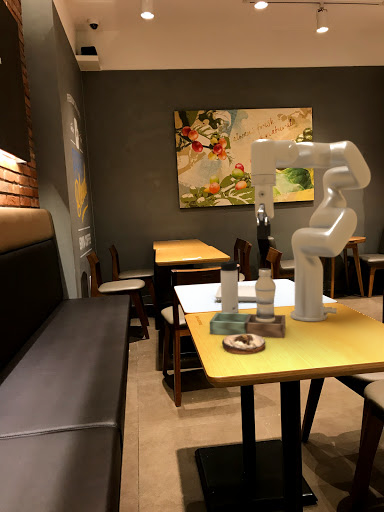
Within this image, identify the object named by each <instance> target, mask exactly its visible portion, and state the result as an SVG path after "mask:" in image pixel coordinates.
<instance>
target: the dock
mask: <svg viewBox="0 0 384 512" xmlns="http://www.w3.org/2000/svg"><path fill="white" fill-rule="evenodd" d="M274 315H275V320H276V324H269V323H255V318H256V313H241V312H240V313H239V312H238V313H222V312H215V314H214V315H213V317H212V318H211V319H210V321H209V335H221V336H223V335H225V336H229V335H237V334H255V335H257V336H261V337H262V338H279V339H285V331H286V314H274Z"/></svg>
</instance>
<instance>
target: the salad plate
mask: <svg viewBox="0 0 384 512" xmlns="http://www.w3.org/2000/svg"><path fill="white" fill-rule="evenodd" d="M214 297H215V299H216V300H218V301H220V302H221V285H219V286H218V288H217V291H216V293H215V295H214ZM240 302H245V303H246V302H251V303H252V302H253V303H255V302H256V303H257V301H256V292H255V285H238V303H240Z"/></svg>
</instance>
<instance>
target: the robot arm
mask: <svg viewBox="0 0 384 512" xmlns="http://www.w3.org/2000/svg"><path fill="white" fill-rule="evenodd" d="M282 168H283V169H287V168H289V169H291V168H292V169H328V170H326V171H325V172H324V174H323V176H322V185H323V186H322V187H323V200H322V201H321V202H320V204H319V205H318V207H317V208H316V209H315V211H314V212H313V214H312V215H311V217H310V220H309V223H308V224H309V227H302V228H298V229H297V230H295V231H294V233H293V234H292V235H291V248H292V253H293V260H294V309H293V310H292V311H291V312H290V313H289V315H290V316H289V317H291V319H294V320H296V321H301V322H321V321H324V320H326V319H327V318H328V314H337V312H338V310H337V309H338V308H337V307H332V306H325V305H324V296H323V295H324V294H323V293H324V290H323V289H324V288H323V287H324V283H323V282H324V267H323V263H322V261H321V259H320V257H325V258H334V257H337V256H338V255H340V254H341V252H343V250H344V249H345V247H346V245H347V244H348V242H349V241H350V239H351V238H352V236H353V234H354V232H355V231H356V229H357V225H358V217H357V213H356V212H355V210H354V209H352V208H350V207H347V200H346V198H345V197H344V195H343V194H342V191H345V190H346V191H347V190H349V191H350V190H362V189H364V188H366V187H367V186H369V184H370V181H371V180H372V179H371V178H372V177H371V175H372V174H371V170H370V168H369V166H368V164H367V162H366V161H365V159H364V157H363V154H362V153H361V152H360V149H359V148H358V147H357V145H356V144H354V142H352V141H349V140H342V141H336V142H329V143H325V142H314V141H302V142H294V141H293V140H290V139H283V140H282V139H281V140H279V139H278V140H273V139H271V138H263V139H262V138H261V139H255V140H253V141H251V143H250V187H251V188H252V187H253V188H254V210H255V211H254V212H255V213H254V214H255V218H256V219H257V223H256V224H257V225H256V239H257V240H267V239H269V237H270V236H271V231H272V230H271V228H272V227H271V220H270V219H273V218H274V217H275V212H274V211H275V210H274V187H276V186H277V169H282Z"/></svg>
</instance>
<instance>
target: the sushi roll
mask: <svg viewBox="0 0 384 512" xmlns="http://www.w3.org/2000/svg"><path fill="white" fill-rule="evenodd" d="M266 343H267V342H266V340H265V338H264V337H261V336H257V335H255V334H237V335H225V337H224V338H223V339H222V341H221V344H222V347H223V348H224V349H225V350H224V351H223V352H226V353H232V354H235V355H236V354H237V355H252V354H257V353H260V352H263V351H264V350H265V349H266Z"/></svg>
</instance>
